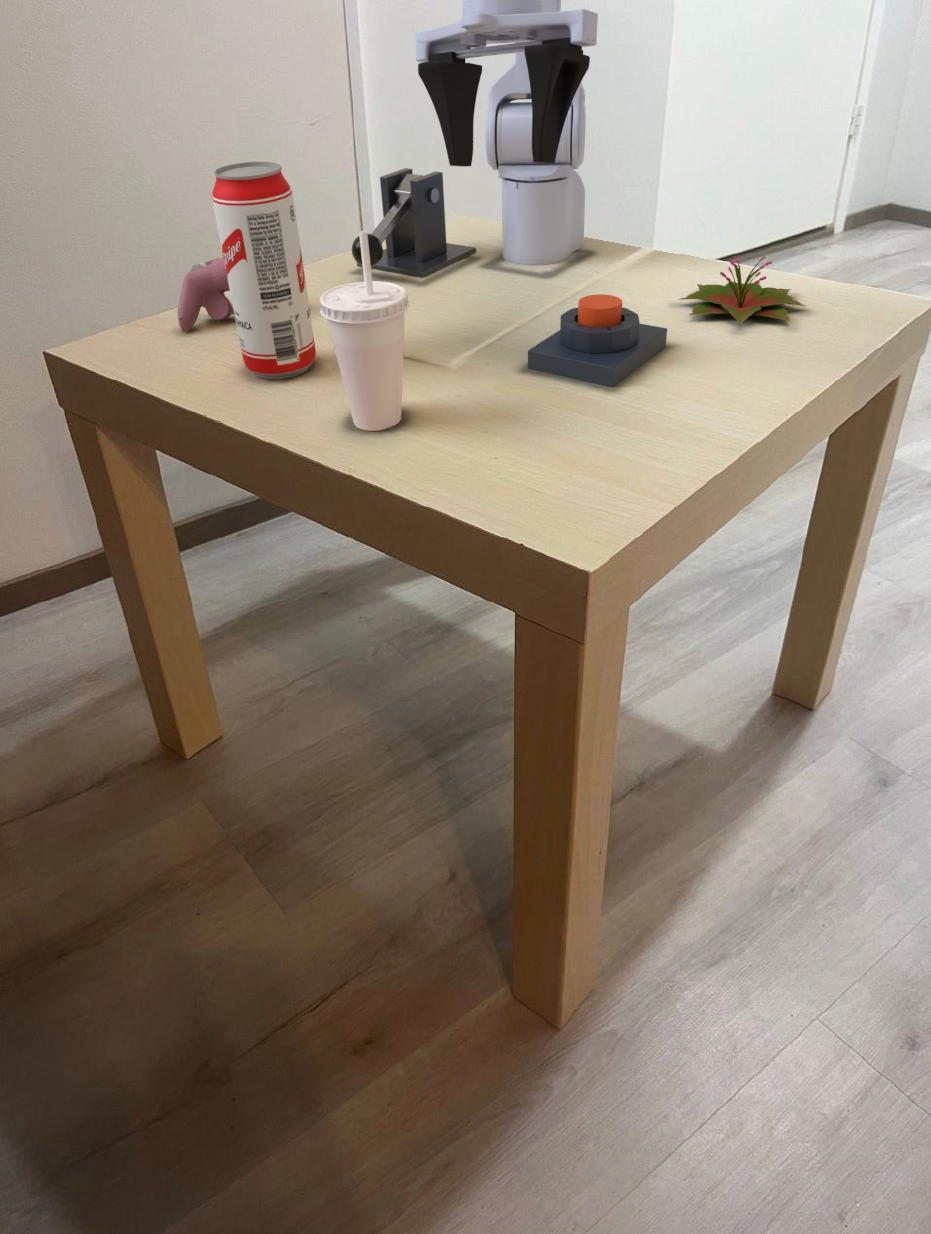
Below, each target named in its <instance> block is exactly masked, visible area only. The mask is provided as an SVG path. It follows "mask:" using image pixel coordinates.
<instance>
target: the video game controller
mask: <svg viewBox="0 0 931 1234" xmlns="http://www.w3.org/2000/svg"><path fill="white" fill-rule="evenodd" d="M180 289H181V290H180V294H179V300H178V304H177V305H178V306H177V322H178V325H179V328H180V329H181V330H182V331H183V332H185V333H186V332H189V331H190V330H192V329H193V327H194V326H195V324H196V322H197V319H198V317H199V314H200V311H201V308H202V307H203V308H204V309H205V311H206V313H207V315H208V316H209V317H210V318H211V319H213V320H216V321H219V322H225V321H227V320H228V319H229V318H230V317H231V316H232V314H233V305H232V302H230V300H229V298H228V297H227V296H226V294H225V293H226V292H230V289H229V284H228V279H227V274H226V269H225V263H224V258H223V257H218V258H214V259H212V260H208V261H204V262H200V263H194V264H192V265H191V267H190V270H189V271H188V272H186V274H184V277H183V280H182V284H181V288H180Z"/></svg>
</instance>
